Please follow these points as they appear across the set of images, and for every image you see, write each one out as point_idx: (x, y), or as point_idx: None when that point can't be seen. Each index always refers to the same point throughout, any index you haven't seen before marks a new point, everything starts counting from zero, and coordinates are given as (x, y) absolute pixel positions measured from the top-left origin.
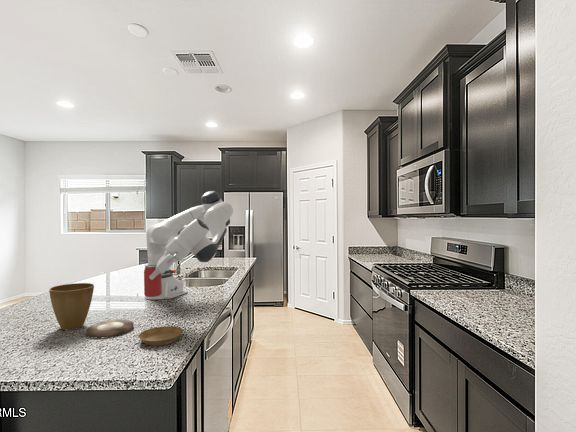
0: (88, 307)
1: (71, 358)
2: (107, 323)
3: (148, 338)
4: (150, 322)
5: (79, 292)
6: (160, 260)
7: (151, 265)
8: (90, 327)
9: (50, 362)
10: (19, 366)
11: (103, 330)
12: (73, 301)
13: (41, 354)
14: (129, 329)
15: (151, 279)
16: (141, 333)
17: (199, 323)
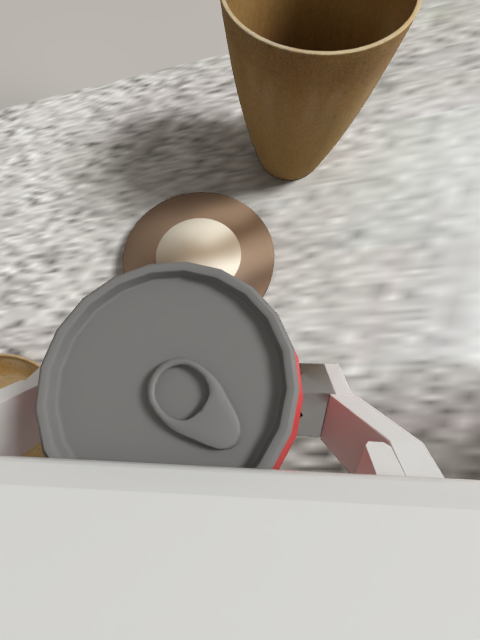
0: (286, 141)
1: (5, 203)
2: (236, 241)
3: None
4: None
5: (233, 36)
6: (229, 619)
7: (281, 357)
8: (215, 200)
9: (8, 168)
10: (25, 121)
11: (160, 240)
12: (232, 65)
13: (79, 140)
14: None
15: None
16: (29, 362)
17: None
